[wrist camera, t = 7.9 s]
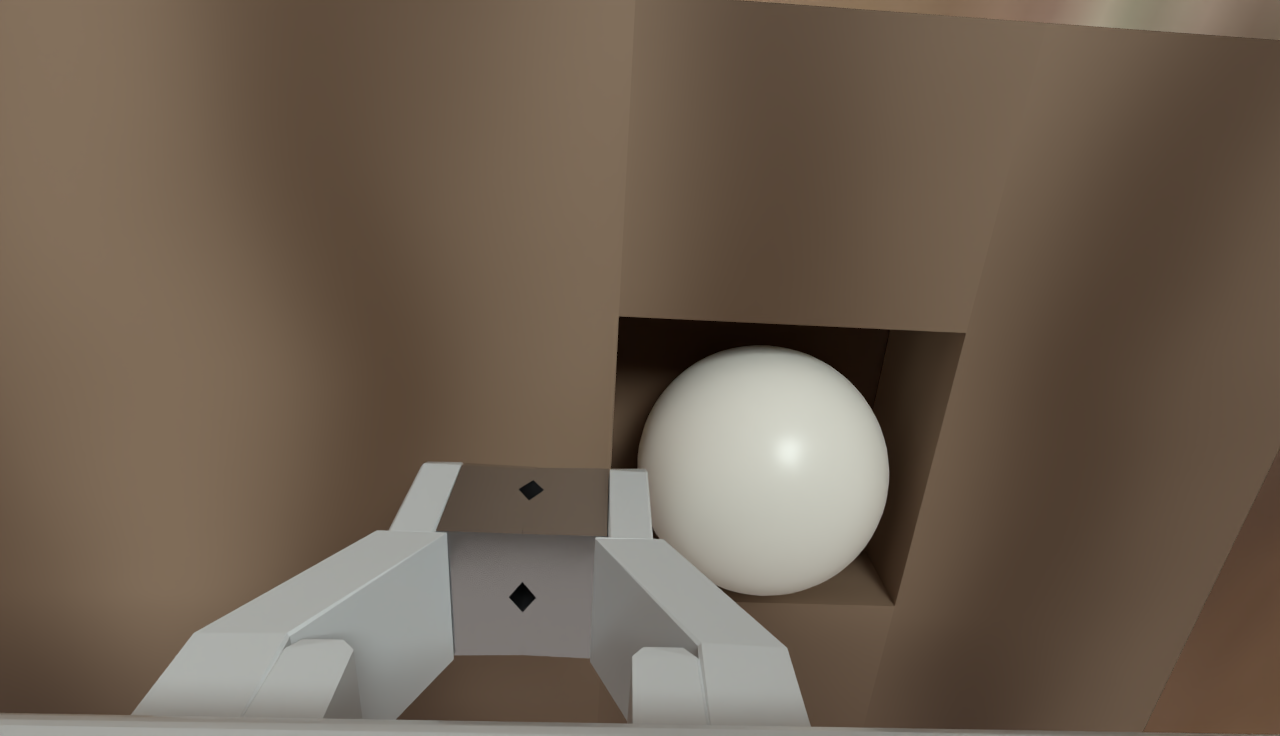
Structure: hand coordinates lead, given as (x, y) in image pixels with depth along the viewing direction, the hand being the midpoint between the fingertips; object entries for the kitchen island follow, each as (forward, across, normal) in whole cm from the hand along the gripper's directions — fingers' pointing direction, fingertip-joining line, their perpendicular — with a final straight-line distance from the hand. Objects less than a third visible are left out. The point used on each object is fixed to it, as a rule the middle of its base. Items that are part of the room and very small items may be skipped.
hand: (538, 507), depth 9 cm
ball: (+2, -3, 0) cm, 4 cm away
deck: (+4, +4, 0) cm, 5 cm away
